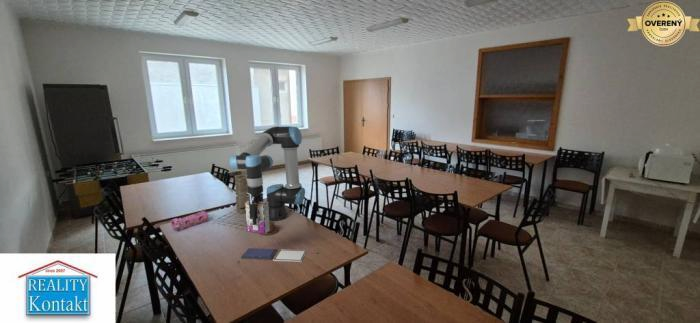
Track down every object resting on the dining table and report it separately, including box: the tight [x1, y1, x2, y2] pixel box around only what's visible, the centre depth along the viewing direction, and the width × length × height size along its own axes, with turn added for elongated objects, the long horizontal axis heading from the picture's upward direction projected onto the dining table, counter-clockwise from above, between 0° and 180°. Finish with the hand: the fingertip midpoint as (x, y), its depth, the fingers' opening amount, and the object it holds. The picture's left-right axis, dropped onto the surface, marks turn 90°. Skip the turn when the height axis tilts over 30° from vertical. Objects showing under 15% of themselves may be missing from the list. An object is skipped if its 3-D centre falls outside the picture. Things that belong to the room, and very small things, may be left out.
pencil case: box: [170, 210, 209, 233], centre depth 194 cm, size 21×9×9 cm, turn 144°
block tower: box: [234, 173, 251, 215], centre depth 217 cm, size 8×8×29 cm
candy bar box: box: [245, 200, 270, 235], centre depth 153 cm, size 11×5×16 cm, turn 76°
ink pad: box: [240, 247, 278, 260], centre depth 156 cm, size 10×16×1 cm, turn 85°
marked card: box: [272, 248, 307, 263], centre depth 155 cm, size 12×15×1 cm
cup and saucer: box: [259, 221, 279, 236], centre depth 184 cm, size 12×12×6 cm
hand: (258, 227), depth 154 cm, fingers closed on candy bar box, 5 cm apart
